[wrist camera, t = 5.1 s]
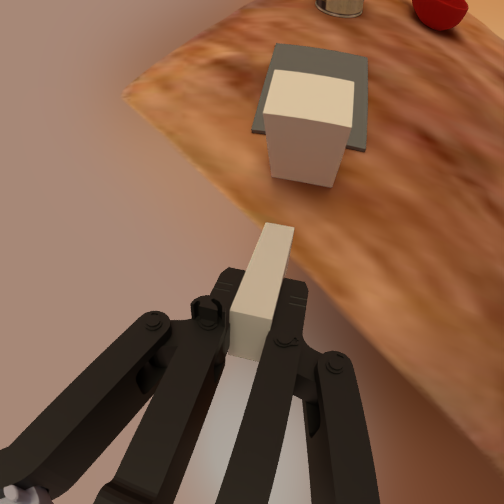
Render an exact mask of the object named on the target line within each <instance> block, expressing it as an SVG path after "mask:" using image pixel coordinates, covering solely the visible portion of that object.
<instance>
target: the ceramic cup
mask: <svg viewBox="0 0 504 504" xmlns="http://www.w3.org/2000/svg"><path fill="white" fill-rule="evenodd" d="M412 3H413V7H414V10H415V12H416V14H417V15H418V18H419V19H420V21H421V22H422V23H424V24H425V25H427V26H428V27H430V28H432V29H435V30H438V31H442V30H446V29H450V28H453V27H455V26H456V25H458V24H459V23H460V21H461V20H462V19H463V17H464V16H465V14H466V12H467V10H468V4H467V3H466V2H465V0H412Z"/></svg>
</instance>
